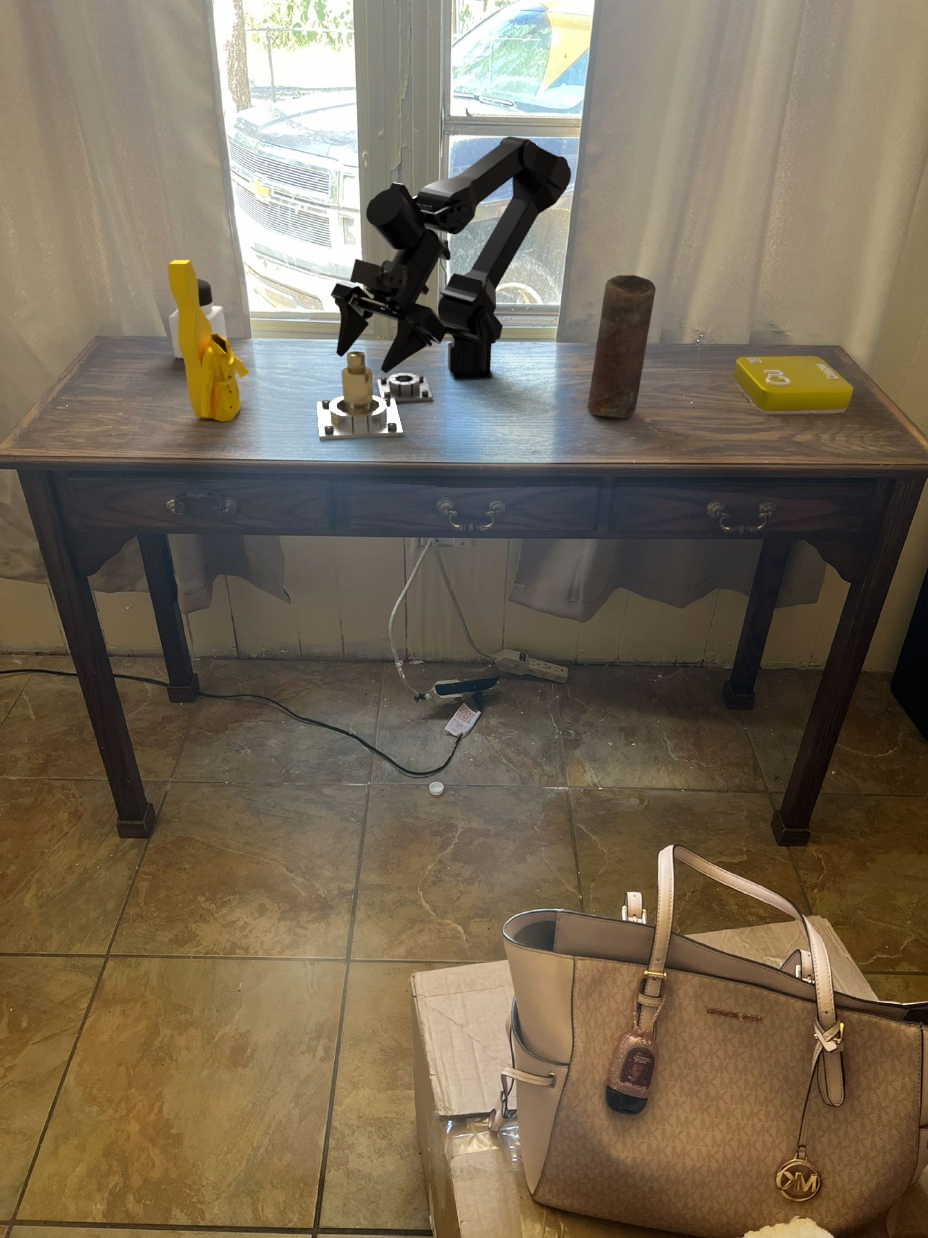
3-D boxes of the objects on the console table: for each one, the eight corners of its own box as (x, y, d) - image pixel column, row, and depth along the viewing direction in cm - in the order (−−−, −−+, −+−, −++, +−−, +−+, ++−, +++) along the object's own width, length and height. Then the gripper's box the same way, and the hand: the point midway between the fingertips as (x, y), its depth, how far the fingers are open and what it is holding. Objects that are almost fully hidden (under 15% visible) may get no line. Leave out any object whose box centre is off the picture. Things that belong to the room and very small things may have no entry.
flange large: (394, 402, 139) (394, 387, 138) (402, 435, 130) (402, 420, 128) (317, 405, 137) (316, 391, 136) (320, 439, 128) (318, 424, 126)
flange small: (425, 381, 146) (425, 368, 145) (432, 400, 140) (432, 387, 139) (377, 383, 145) (376, 370, 144) (381, 402, 139) (381, 389, 137)
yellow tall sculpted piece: (221, 440, 127) (197, 282, 114) (168, 436, 128) (138, 278, 114) (261, 392, 141) (244, 247, 128) (214, 388, 142) (192, 243, 129)
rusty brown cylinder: (640, 408, 139) (660, 277, 127) (631, 427, 134) (651, 291, 122) (592, 401, 141) (607, 271, 129) (582, 419, 136) (597, 285, 124)
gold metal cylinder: (362, 407, 136) (359, 346, 130) (379, 417, 133) (377, 355, 127) (338, 415, 133) (334, 353, 128) (355, 425, 131) (352, 362, 125)
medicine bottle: (228, 346, 157) (218, 276, 150) (215, 361, 151) (204, 289, 144) (189, 344, 157) (177, 274, 150) (174, 358, 152) (162, 286, 144)
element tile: (850, 416, 140) (859, 387, 137) (759, 417, 139) (766, 388, 136) (812, 379, 152) (820, 352, 149) (727, 380, 151) (733, 352, 148)
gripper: (335, 222, 127) (283, 318, 127) (431, 247, 117) (376, 351, 117) (376, 267, 136) (329, 357, 136) (469, 294, 127) (418, 390, 127)
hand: (360, 363), depth 129 cm, fingers open, 9 cm apart
